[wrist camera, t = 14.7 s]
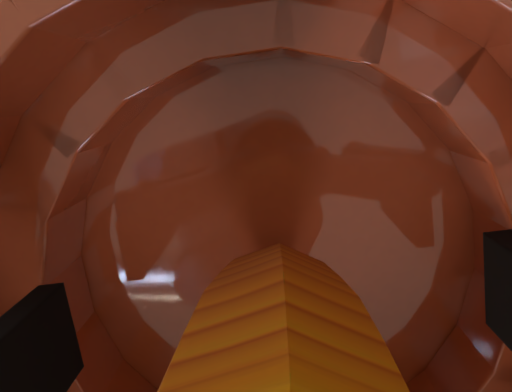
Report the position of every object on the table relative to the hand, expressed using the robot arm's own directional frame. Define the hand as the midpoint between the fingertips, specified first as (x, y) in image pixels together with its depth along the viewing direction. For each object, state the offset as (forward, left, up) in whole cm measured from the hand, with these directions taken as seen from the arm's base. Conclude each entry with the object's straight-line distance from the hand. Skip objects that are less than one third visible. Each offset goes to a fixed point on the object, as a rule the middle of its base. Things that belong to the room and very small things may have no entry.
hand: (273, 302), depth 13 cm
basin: (0, 0, -4) cm, 4 cm away
